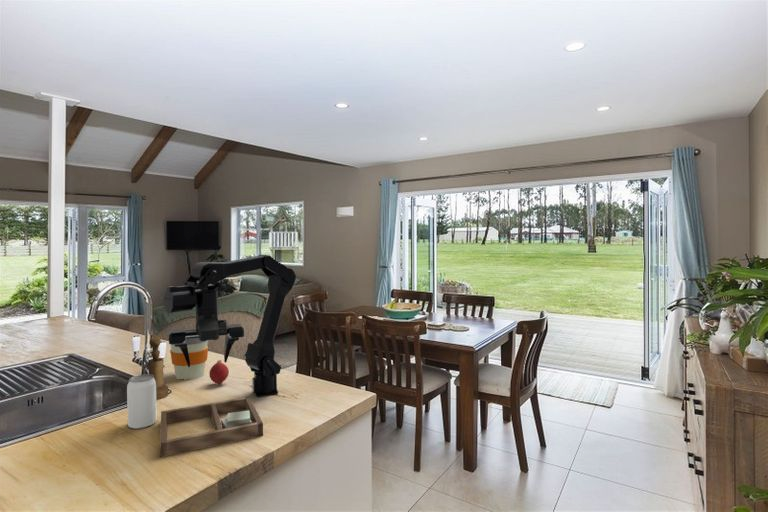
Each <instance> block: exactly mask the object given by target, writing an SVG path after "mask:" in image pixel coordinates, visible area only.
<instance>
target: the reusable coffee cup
mask: <svg viewBox="0 0 768 512" xmlns="http://www.w3.org/2000/svg"><path fill="white" fill-rule="evenodd" d="M191 331H196V328H190V329H189V328H188V329H185V332H191ZM186 342H187V347H188V353H189V359H190V367H188V365H187V362H186V359H185V357H184V354H183V352H182V351H181V349H180V348H179V347H175V345H174V344H169V345H170V351H169V352H170V359H171V364H172V366H173V369H174V374H175V378H176V379H177V380H179V379H184V380H183V381H186V380H187V379H190V380H195V379H198V377H199V378H201V377H203V376H204V375H205V370H206V362H207V360H208V354H209V346H208V342H209V340H206V341H200V340H199V338H190V339H186ZM194 378H195V379H194Z"/></svg>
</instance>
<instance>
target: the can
mask: <svg viewBox="0 0 768 512" xmlns="http://www.w3.org/2000/svg"><path fill="white" fill-rule="evenodd" d="M126 401H127V403H126V405H127V425H128V427H129V428H130V429H132V430H133V429H134V430H140V428H141V429H146V428H149V427H151V426H154V424H156V423H157V419H158V418H157V416H158V414H157V412H158V411H157V410H158V409H157V405H158V404H157V399H156V381H155V379H154V376H153V375H149V373H148V374H138V375H135V376H131V377H130V378H129V379H128V384H127V385H126ZM148 426H149V427H148ZM145 427H146V428H145Z"/></svg>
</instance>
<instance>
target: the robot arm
mask: <svg viewBox="0 0 768 512" xmlns="http://www.w3.org/2000/svg"><path fill="white" fill-rule="evenodd" d="M257 270H260V271H261V272H262V273H263V275H265V276H266V277H267V278H268V280H267V286H268V292H269V293H268V297H267V298H268V299H267V302H266V305H265V309H264V312H263V316H262V319H261V320H262V321H261V324H260V327H259V329H258V330H259V331H258V335H257V337H256V339H255V340H254V341H253V342H248V344H247V349H246V351H245V353H244V355H243V356H244V357H245V360H244V361H245V363H246V365H247V367H249V368H250V371H251V372H252V373H253V372H254V373H253V377H252V379H251V381H252V383H251V384H252V385H251V386H252V393H253V394H255V397H257V398H258V397H264V396H269V395H270V396H271V395H276V394H279V390H278V386H277V385H278V384H277V383H278V382H277V381H278V380H277V379H278V378H277V375H278V374H280V373H281V370H282V366H281V365H280V364H279V363H278V361H277V362H276V360H275V356H276V355H275V354H276V353H275V352H276V351H275V346H274V339H275V335H276V332H277V329H278V324H279V321H280V318H281V314H282V310H283V305H284V303H285V299H286V297H287V295H288V294H289V293H290V292H291V291H292V290H293V287H294V285H295V283H296V279H297V275H296V273H295V271H294V270H293V269H292V268H290V267H289V268H288V267H287V266H286V265H285V264H283V263H281V262H279V260H278V261H277V260H276V259H275V258H273V257H272V256H271V255H269V254H258V255H255V256H250V257H246V258H240V259H235V260H234V259H233V260H230V261H224V262H223V261H222V262H221V261H209V262H208V261H199V262H197V263H195V264H193V266H192V268H191V271H190V272H191V273H190V274H189V276H188V277H187V278H186V280H185V281H184V283H183V284H182V285H179V286H172V285H169V286H167V287H166V292H165V293H164V296H163V299H162V304H163V308H164V311H165V312H166V313H167V314H174V313H180V312H188V311H192V310H194V311H195V312H194V315H195V316H194V317H195V318H194V319H195V329H196V331H191V332H185V330H186V329H185V328H179V329H170V331H168V344H169V345H170V344H174V345H175V347H179V348H180V349H181V351H182V352H183V354H184V357H185V359H186V362H187V365H188V367H190V359H189V353H188V347H187V342H186V339H190V338H199V340H200V341H206V340H208V341H210V340H212V341H217V340H219V339H220V336H225V338H224V339H225V340H224V353H223V358H224V359H223V361H224V364H225V363H227V361H228V359H229V355H230V352H231V350H232V347H233V346H234V344H235V342H236V341H239V340H240V338H243V337H245V329H244V327H243V326H242V324H241V323H233V324H228V323H227V319H219V309H218V308H219V303H218V302H219V301H218V295H219V294H218V292H222V291H226V287H224V286H223V285H221V283H220V282H221V281H224V280H225V279H227V278H228V277H231V276H234V275H238V274H243V273H248V272H252V271H257Z"/></svg>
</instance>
